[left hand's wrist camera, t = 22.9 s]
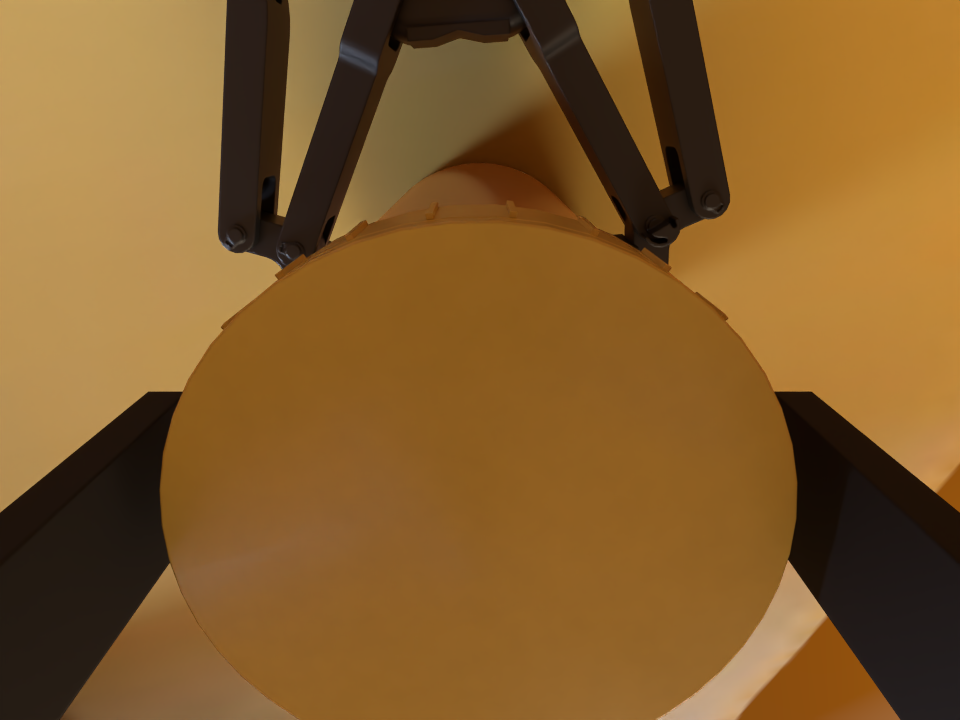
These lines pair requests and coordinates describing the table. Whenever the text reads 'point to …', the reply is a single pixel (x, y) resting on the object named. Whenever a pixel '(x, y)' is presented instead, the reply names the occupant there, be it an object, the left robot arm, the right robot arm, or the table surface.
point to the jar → (479, 190)
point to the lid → (478, 477)
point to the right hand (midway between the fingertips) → (487, 419)
